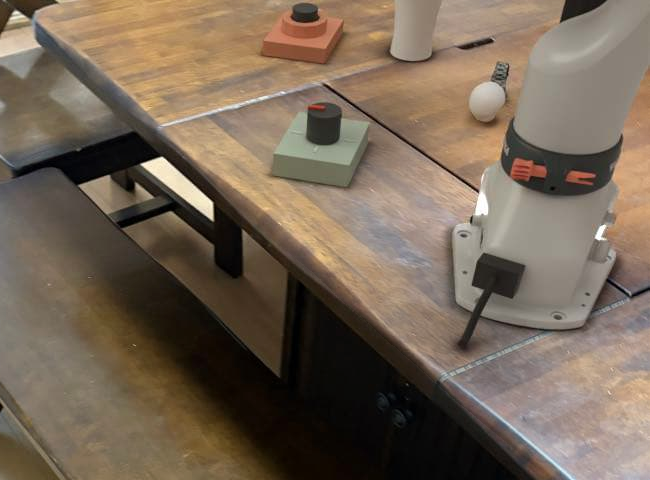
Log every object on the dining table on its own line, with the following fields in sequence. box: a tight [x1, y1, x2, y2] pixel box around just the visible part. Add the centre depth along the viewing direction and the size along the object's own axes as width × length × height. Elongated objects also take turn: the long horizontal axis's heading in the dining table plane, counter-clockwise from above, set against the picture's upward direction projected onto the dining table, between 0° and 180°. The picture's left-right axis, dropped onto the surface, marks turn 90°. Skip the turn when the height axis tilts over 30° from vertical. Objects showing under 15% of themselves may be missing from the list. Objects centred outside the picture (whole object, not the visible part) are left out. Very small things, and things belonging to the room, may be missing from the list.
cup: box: [389, 0, 443, 62], centre depth 132 cm, size 10×10×14 cm
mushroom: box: [468, 81, 506, 123], centre depth 121 cm, size 5×5×5 cm
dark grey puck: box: [291, 2, 319, 23], centre depth 136 cm, size 4×4×2 cm
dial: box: [306, 101, 343, 145], centre depth 112 cm, size 4×4×4 cm
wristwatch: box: [489, 60, 511, 99], centre depth 126 cm, size 3×5×5 cm
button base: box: [262, 9, 345, 64], centre depth 138 cm, size 12×10×4 cm
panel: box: [272, 111, 371, 188], centre depth 115 cm, size 12×10×3 cm
